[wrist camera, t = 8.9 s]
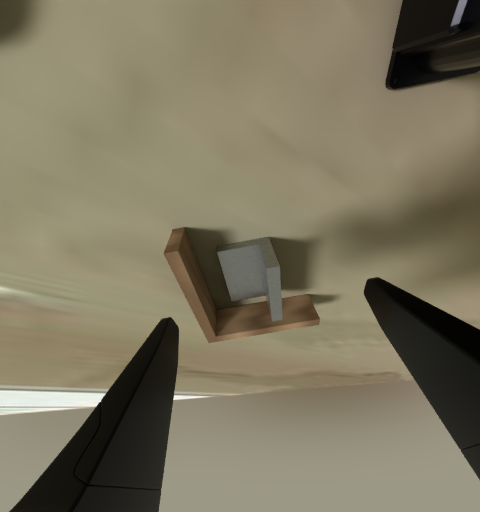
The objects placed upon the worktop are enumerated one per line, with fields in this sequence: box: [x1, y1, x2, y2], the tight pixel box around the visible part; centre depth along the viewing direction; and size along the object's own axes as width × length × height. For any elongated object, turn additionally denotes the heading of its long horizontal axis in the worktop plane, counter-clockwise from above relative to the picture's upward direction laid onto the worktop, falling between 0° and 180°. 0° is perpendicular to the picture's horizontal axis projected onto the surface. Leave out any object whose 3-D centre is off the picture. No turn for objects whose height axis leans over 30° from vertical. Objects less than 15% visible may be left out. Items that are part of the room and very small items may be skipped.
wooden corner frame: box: [164, 227, 320, 343], centre depth 22 cm, size 14×15×4 cm
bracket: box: [217, 237, 283, 321], centre depth 21 cm, size 8×6×5 cm
